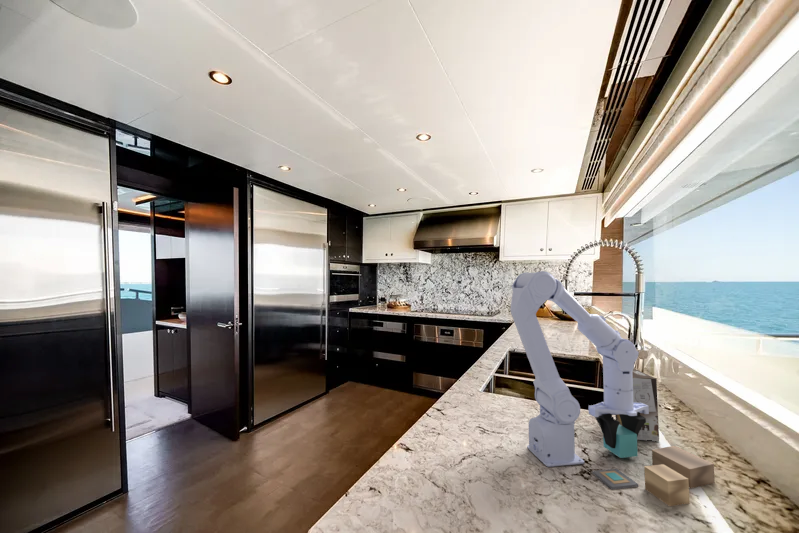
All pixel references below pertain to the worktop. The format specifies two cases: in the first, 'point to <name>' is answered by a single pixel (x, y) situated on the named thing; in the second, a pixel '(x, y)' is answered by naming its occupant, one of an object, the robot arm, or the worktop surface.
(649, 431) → the coffee box
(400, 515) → the worktop surface
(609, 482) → the card
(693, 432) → the worktop surface
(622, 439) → the teal block
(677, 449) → the walnut block
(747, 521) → the worktop surface
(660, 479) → the oak block
